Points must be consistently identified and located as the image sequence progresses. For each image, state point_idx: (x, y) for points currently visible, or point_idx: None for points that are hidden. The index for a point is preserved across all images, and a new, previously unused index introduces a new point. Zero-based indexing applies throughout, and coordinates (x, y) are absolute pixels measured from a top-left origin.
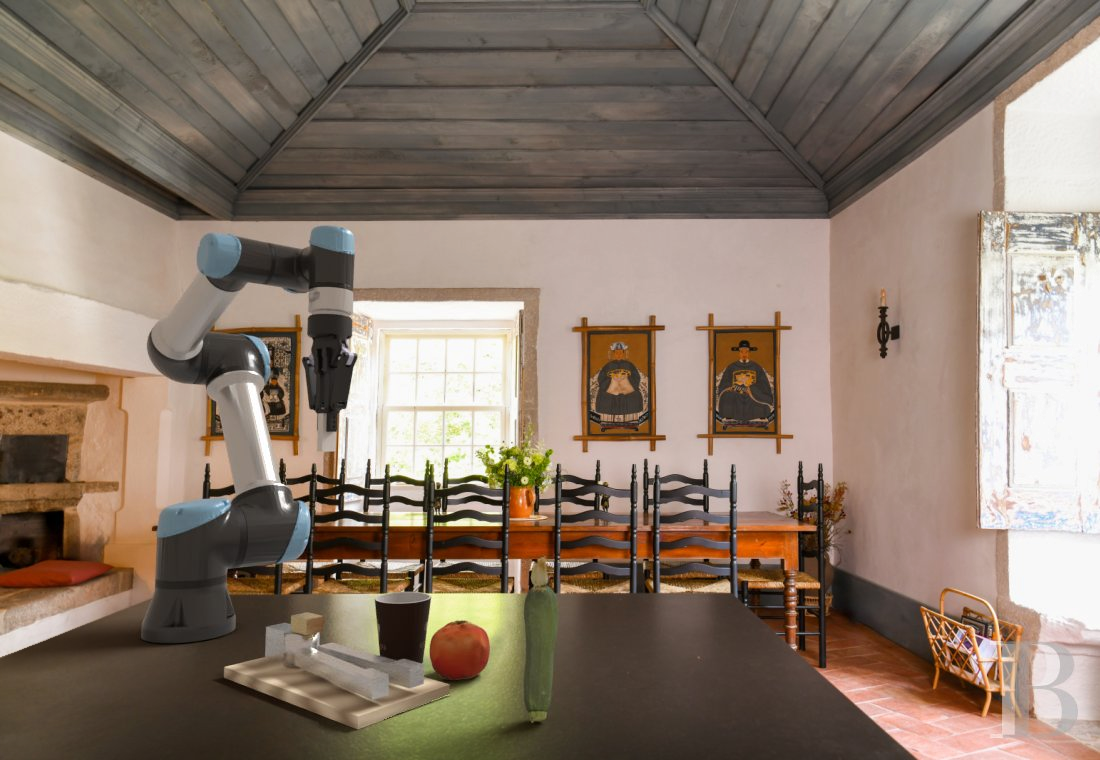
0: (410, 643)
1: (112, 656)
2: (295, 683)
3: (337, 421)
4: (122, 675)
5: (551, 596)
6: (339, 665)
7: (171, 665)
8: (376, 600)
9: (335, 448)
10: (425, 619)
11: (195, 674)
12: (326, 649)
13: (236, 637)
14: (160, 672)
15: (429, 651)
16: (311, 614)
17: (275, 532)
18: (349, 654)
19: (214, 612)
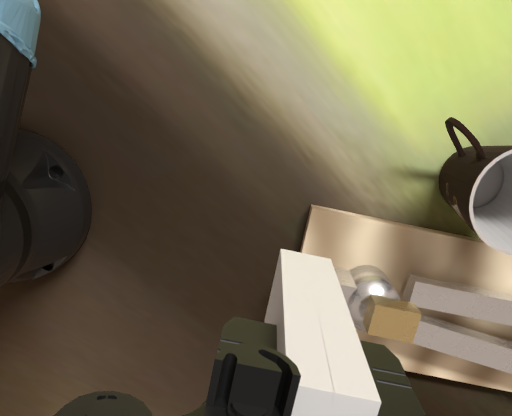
0: None
1: (53, 339)
2: (422, 354)
3: (415, 395)
4: (152, 384)
5: None
6: (503, 362)
7: (167, 331)
8: (491, 247)
9: (333, 267)
10: None
11: None
12: (429, 308)
13: (113, 186)
14: (183, 357)
15: None
16: (394, 314)
17: (4, 106)
18: (483, 318)
19: (66, 219)
